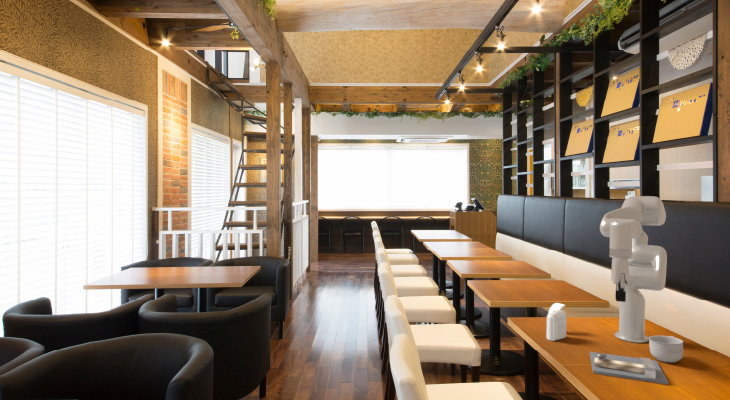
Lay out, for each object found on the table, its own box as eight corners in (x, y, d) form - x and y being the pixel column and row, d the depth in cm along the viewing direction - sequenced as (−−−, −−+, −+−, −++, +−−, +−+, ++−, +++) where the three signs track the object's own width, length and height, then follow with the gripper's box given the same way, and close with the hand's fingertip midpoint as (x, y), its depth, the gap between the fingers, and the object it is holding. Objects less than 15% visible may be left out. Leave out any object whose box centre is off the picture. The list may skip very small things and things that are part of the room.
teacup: (672, 367, 159) (673, 345, 159) (642, 357, 168) (642, 336, 168) (693, 360, 165) (693, 339, 165) (663, 351, 175) (663, 331, 175)
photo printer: (558, 335, 195) (559, 307, 194) (567, 337, 191) (568, 309, 191) (544, 339, 189) (545, 310, 189) (553, 342, 185) (554, 313, 185)
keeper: (639, 369, 156) (640, 356, 156) (649, 371, 155) (649, 358, 155) (644, 380, 147) (645, 367, 147) (655, 382, 146) (655, 368, 146)
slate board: (589, 354, 171) (589, 351, 171) (655, 363, 162) (655, 360, 162) (593, 373, 153) (593, 370, 153) (668, 384, 144) (668, 381, 144)
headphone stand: (565, 330, 200) (565, 304, 200) (556, 332, 197) (556, 306, 197) (556, 328, 204) (556, 302, 204) (547, 330, 201) (548, 304, 201)
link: (594, 366, 156) (594, 355, 156) (594, 361, 160) (594, 351, 160) (655, 376, 148) (655, 365, 148) (653, 371, 152) (653, 360, 152)
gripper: (607, 249, 175) (607, 295, 176) (611, 256, 161) (611, 305, 162) (629, 250, 172) (628, 296, 173) (635, 257, 158) (635, 307, 159)
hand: (620, 300), depth 168 cm, fingers closed
